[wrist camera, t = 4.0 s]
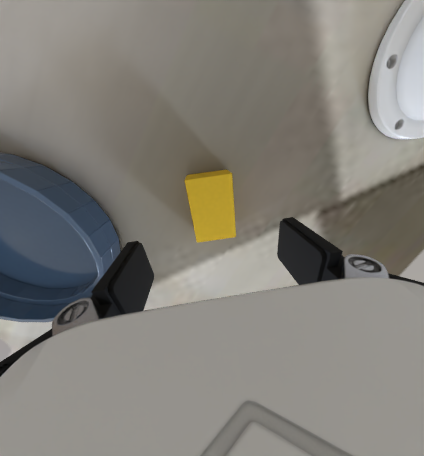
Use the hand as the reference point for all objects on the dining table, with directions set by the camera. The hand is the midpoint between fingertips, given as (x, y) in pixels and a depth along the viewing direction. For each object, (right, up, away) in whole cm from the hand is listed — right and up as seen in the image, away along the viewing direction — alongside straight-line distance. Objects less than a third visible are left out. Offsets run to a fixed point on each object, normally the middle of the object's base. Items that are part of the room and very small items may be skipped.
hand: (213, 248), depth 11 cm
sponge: (0, +4, +8) cm, 9 cm away
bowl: (-21, 0, +9) cm, 23 cm away
